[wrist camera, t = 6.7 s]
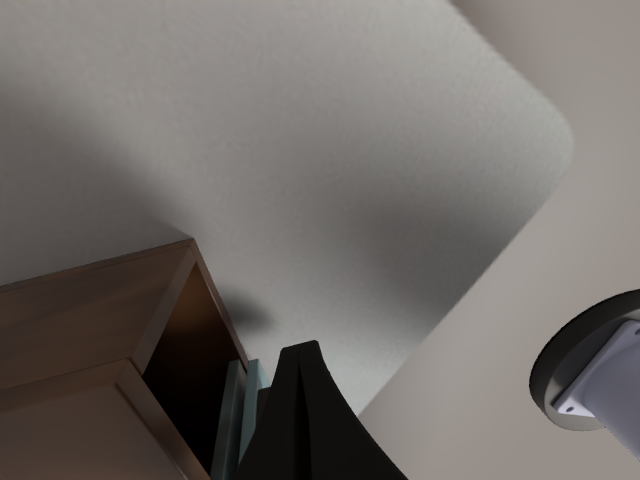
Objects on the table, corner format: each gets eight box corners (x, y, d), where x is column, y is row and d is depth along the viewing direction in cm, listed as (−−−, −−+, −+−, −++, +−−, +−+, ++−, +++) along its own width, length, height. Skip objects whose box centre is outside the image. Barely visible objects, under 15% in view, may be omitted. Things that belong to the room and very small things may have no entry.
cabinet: (194, 237, 14) (114, 382, 7) (276, 423, 21) (277, 600, 13) (-23, 291, 14) (-329, 497, 7) (127, 463, 20) (47, 665, 13)
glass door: (323, 340, 17) (348, 469, 11) (346, 422, 20) (375, 554, 14) (247, 360, 17) (234, 500, 11) (282, 439, 20) (286, 579, 14)
